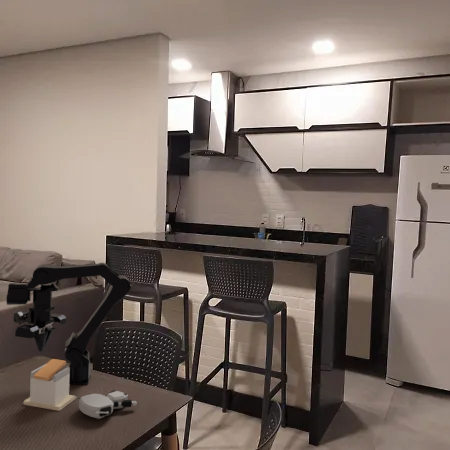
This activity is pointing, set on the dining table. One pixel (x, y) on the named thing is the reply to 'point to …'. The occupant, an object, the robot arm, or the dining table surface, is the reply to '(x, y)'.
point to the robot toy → (103, 403)
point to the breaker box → (50, 391)
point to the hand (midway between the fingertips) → (41, 350)
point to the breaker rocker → (49, 369)
